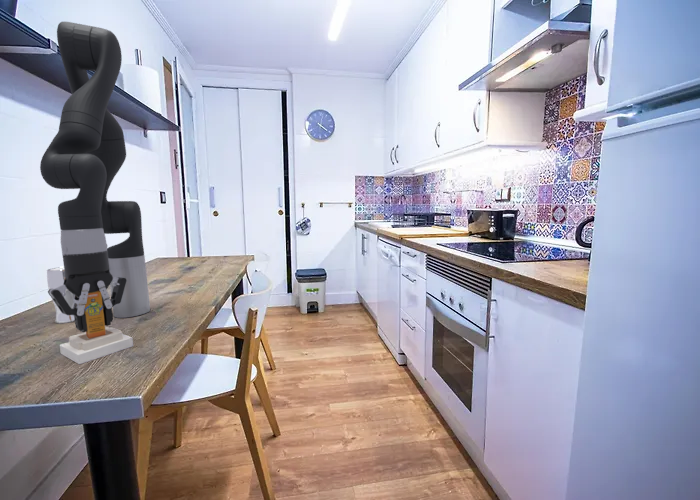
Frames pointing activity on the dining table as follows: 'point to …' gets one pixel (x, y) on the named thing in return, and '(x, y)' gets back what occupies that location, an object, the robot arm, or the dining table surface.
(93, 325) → the supplement box
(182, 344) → the dining table surface
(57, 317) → the beer glass
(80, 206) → the robot arm
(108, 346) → the display stand
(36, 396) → the dining table surface
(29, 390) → the dining table surface
